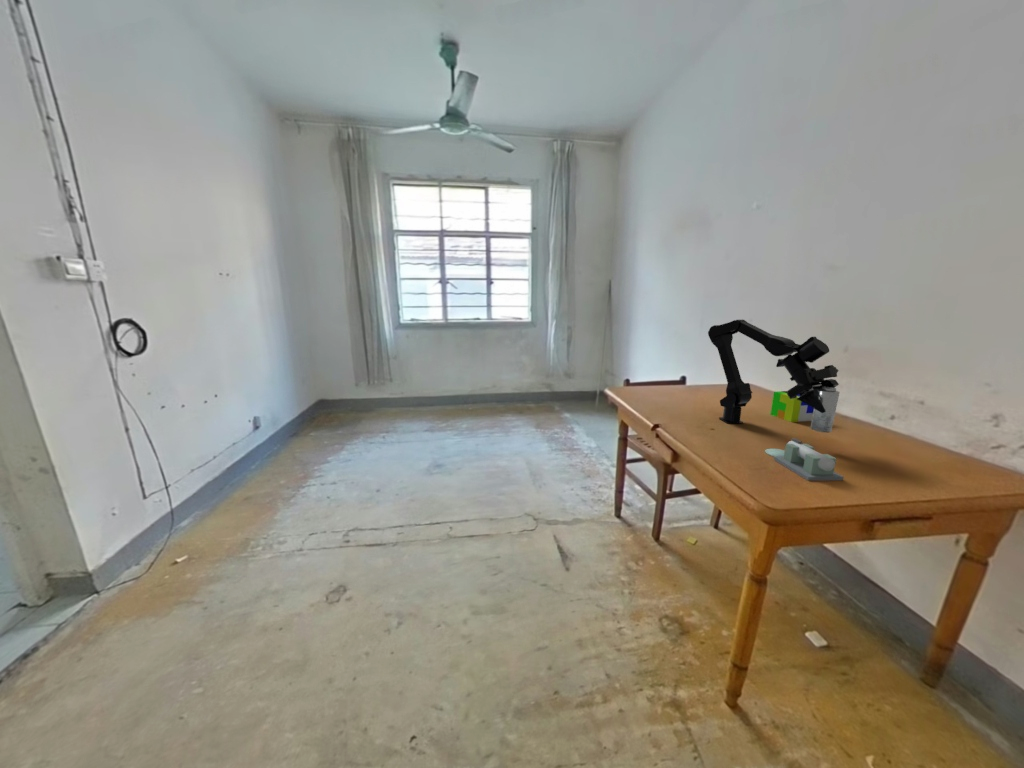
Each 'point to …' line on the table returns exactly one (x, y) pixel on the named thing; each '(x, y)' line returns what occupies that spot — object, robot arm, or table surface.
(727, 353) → the robot arm
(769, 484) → the table surface
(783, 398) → the puzzle toy
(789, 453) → the shaft stand
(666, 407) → the table surface
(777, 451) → the pale green disc
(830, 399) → the canister
